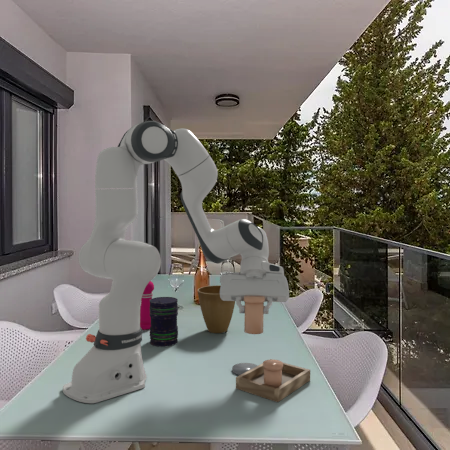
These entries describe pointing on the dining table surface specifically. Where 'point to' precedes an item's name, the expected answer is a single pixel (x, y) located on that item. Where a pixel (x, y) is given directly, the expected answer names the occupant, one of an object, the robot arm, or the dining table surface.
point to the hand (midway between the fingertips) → (253, 312)
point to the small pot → (273, 373)
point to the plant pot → (215, 309)
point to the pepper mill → (146, 307)
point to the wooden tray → (255, 385)
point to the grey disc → (242, 368)
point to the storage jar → (163, 321)
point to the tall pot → (254, 314)
